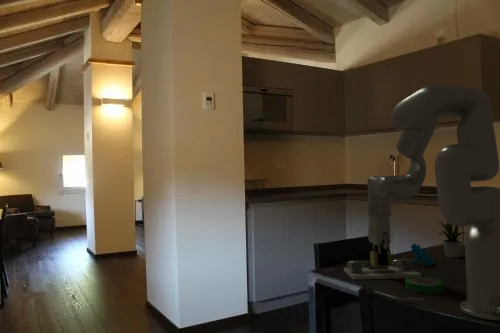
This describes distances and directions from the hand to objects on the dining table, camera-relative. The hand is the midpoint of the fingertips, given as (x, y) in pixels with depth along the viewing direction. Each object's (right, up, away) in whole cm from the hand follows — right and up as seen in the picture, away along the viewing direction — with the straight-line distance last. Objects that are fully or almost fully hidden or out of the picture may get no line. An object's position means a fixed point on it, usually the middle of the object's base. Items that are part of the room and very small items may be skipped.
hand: (380, 263), depth 141 cm
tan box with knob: (0, -1, 0) cm, 1 cm away
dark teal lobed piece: (+20, -4, +13) cm, 25 cm away
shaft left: (-8, -3, 0) cm, 8 cm away
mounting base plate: (0, -4, 0) cm, 4 cm away
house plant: (+37, -4, +27) cm, 46 cm away
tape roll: (+8, -4, -18) cm, 20 cm away
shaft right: (+8, -2, +1) cm, 8 cm away
